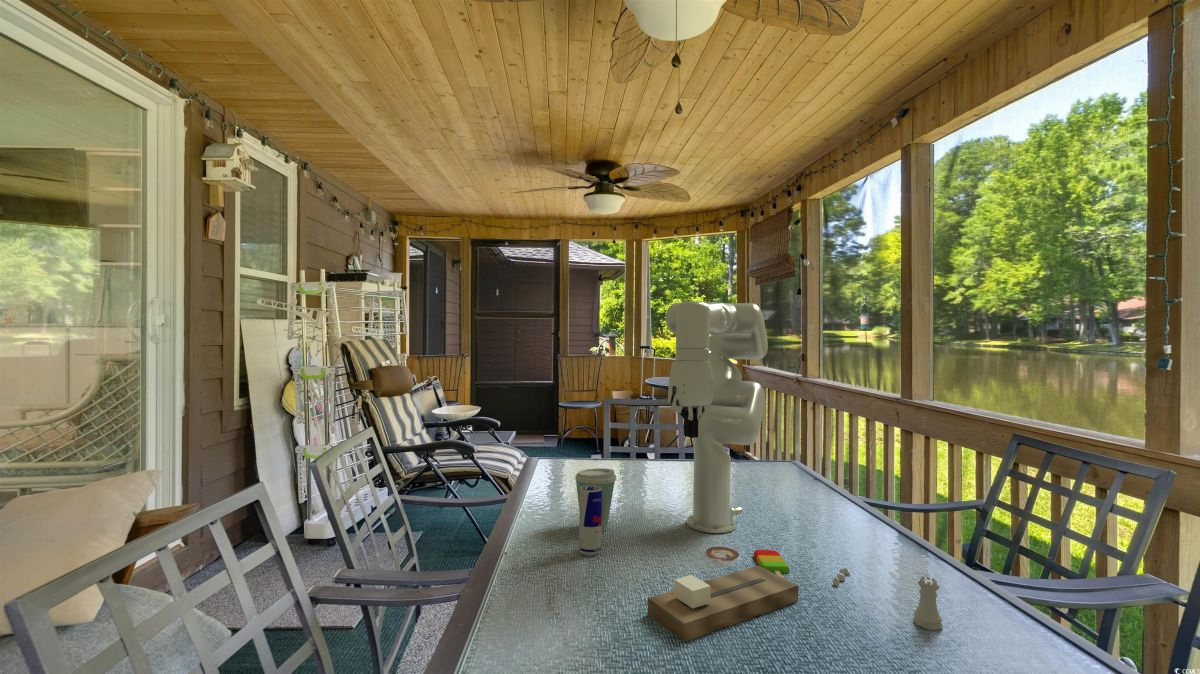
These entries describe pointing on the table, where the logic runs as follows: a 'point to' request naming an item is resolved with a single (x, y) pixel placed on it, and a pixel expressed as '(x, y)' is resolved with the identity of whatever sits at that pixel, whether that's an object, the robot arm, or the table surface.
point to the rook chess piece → (928, 605)
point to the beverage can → (590, 519)
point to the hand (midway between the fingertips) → (690, 436)
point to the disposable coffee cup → (604, 480)
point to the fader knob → (692, 591)
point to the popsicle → (771, 561)
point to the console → (724, 603)
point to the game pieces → (840, 576)
